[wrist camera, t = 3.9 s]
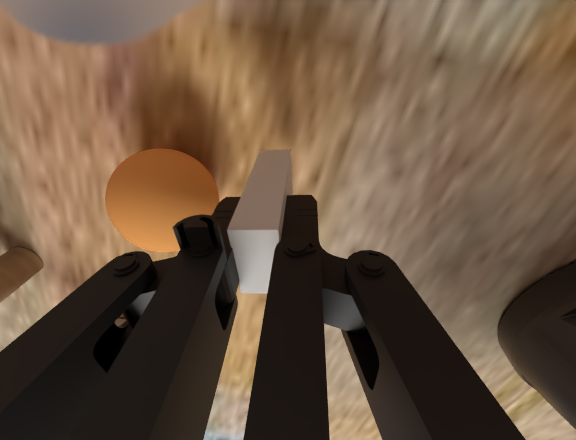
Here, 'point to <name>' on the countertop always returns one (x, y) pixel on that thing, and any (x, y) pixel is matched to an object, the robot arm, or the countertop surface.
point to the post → (17, 269)
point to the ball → (158, 196)
